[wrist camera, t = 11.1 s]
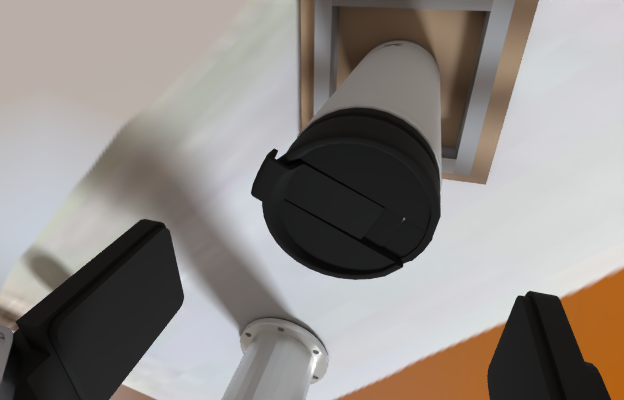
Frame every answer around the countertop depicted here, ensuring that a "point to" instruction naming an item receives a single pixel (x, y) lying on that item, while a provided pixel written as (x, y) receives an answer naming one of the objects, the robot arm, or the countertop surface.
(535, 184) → the countertop surface
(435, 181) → the travel mug
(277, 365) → the robot arm
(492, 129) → the frame
